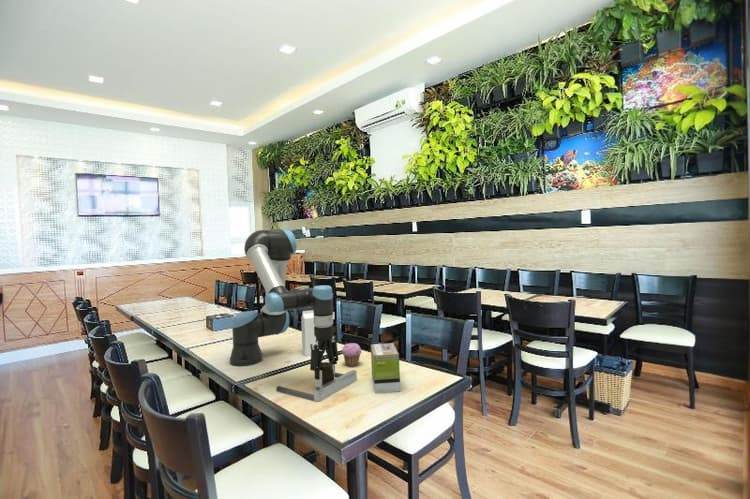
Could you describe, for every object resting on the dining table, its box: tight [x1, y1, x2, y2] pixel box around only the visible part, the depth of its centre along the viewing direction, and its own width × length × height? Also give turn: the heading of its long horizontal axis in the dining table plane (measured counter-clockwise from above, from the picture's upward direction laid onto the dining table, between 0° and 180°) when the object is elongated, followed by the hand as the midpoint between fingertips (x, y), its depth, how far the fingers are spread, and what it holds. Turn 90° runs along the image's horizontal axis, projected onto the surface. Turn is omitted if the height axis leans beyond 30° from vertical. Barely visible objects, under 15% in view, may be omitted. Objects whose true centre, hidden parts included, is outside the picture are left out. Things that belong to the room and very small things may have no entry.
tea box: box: [370, 342, 401, 394], centre depth 155 cm, size 15×10×15 cm, turn 5°
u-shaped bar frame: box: [275, 369, 358, 403], centre depth 156 cm, size 21×24×4 cm
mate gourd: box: [320, 358, 335, 385], centre depth 154 cm, size 7×8×10 cm
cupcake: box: [341, 342, 362, 367], centre depth 181 cm, size 9×9×10 cm
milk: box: [300, 309, 316, 357], centre depth 199 cm, size 6×6×22 cm
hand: (325, 383), depth 154 cm, fingers closed on mate gourd, 7 cm apart
